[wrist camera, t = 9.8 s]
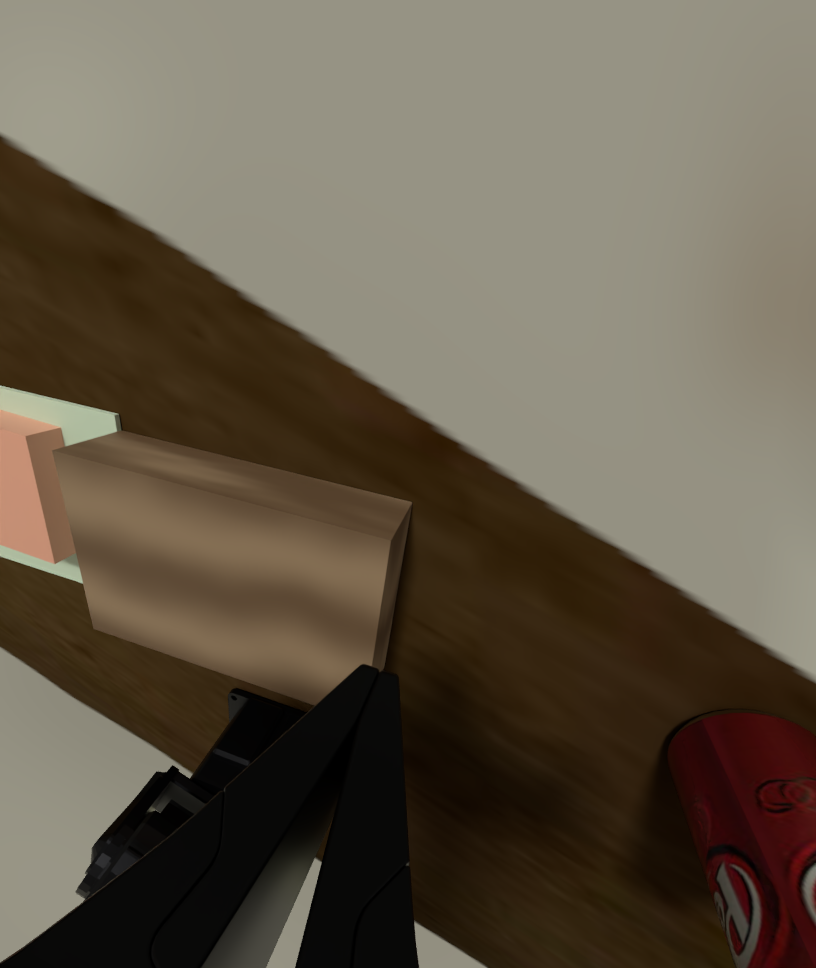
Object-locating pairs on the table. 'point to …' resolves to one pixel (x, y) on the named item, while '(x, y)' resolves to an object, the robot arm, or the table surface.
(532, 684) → the table surface
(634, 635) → the table surface
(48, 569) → the mat
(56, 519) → the block
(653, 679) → the table surface
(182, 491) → the tan flat slab
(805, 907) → the soda can
